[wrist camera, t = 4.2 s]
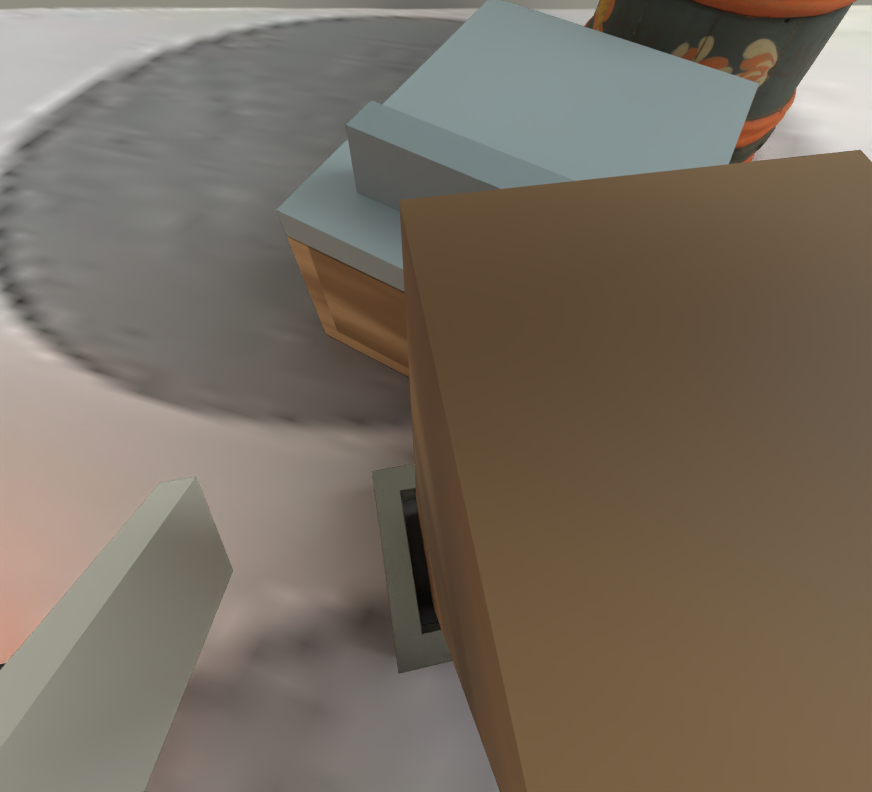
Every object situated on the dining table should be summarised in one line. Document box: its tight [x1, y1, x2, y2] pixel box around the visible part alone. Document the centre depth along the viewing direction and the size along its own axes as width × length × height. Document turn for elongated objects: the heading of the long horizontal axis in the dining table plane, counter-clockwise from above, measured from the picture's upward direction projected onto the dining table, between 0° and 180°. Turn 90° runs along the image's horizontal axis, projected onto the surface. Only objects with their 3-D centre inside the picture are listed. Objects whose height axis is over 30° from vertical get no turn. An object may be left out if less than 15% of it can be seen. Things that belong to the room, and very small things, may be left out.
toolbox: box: [287, 236, 409, 377], centre depth 21 cm, size 18×14×7 cm
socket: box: [372, 464, 453, 673], centre depth 17 cm, size 7×7×2 cm
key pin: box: [399, 150, 872, 792], centre depth 10 cm, size 4×4×17 cm
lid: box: [276, 0, 759, 291], centre depth 16 cm, size 18×14×4 cm
